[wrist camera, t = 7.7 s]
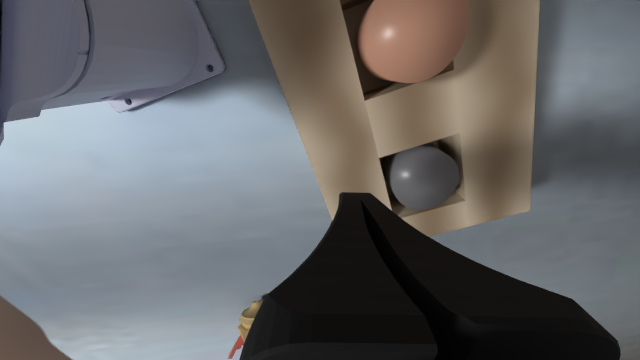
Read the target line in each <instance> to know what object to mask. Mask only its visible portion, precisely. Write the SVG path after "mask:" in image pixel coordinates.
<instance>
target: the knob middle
mask: <svg viewBox="0 0 640 360" xmlns="http://www.w3.org/2000/svg"><path fill="white" fill-rule="evenodd" d="M468 25H469V2H468V0H374V1H373V2H372V3H371V5H370V6H369V7H368V9H367V10H366V12H365V13H364V15H363V17H362V18H361V21H360V23H359V26H358V30H357V36H356V47H357V53H358V56H359V59H360V61H361V63H362V65H363V66H364V68H365V69H366V70H367V71H368V72H369V73H370V74H372V75H373V76H375V77H377V78H379V79H382V80H389V81H395V82H402V83H417V82H421V81H425V80H427V79H430V78H432V77H433V76H435V75H437V74H438V73H440V72H441V71H442V70H443V69H445V68H446V67H447V66H448V65H449V64H450V63H451V61H452V60H453V59H454V58H455V56H456V55H457V53H458V52H459V50H460V48H461V46H462V44H463V42H464V39H465V36H466V33H467V29H468Z"/></svg>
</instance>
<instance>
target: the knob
mask: <svg viewBox="0 0 640 360" xmlns="http://www.w3.org/2000/svg"><path fill="white" fill-rule="evenodd" d="M381 169H382V173H383V176H384V178H385V180H386V181H387V183H388V185H389V186H390V188H391V190H392V191H393V193H394V195H395V196H396V198H397V199H398V201H399V202H400V203H401V204H403V205H404V206H406V207H408V208H411V209H417V210H423V209H429V208H433V207H435V206H438V205H439V204H441V203H443V202H444V201H446V200H447V199H448V198H449V197H450V196H451V195H452V193H453V192H454V191H455V189H456V187H457V184H458V181H459V169H458V166H457V164H456V162H455V161H454V160H453V159H452V158H451V157H450V156H449V155H447V154H446V153H444V152H443V151H441V150H440V149H438V148H437V147H435V146H434V145H432V144H431V143H426V144H423V145H419V146H416V147H413V148H410V149H407V150H403V151H400V152H397V153H394V154H391V155H387V156H384V157H383V158H382V162H381Z"/></svg>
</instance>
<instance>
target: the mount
mask: <svg viewBox="0 0 640 360" xmlns="http://www.w3.org/2000/svg"><path fill="white" fill-rule="evenodd" d="M373 1H374V0H248V2H249V4H250V7H251V9H252V12H253V15H254V17H255V20H256V22H257V25H258V28H259V30H260V33H261V36H262V38H263V41H264V43H265V46H266V49H267V51H268V54H269V56H270V59H271V62H272V64H273V67H274V69H275V72H276V75H277V77H278V80H279V82H280V85H281V88H282V90H283V93H284V95H285V98H286V101H287V103H288V106H289V109H290V111H291V114H292V116H293V119H294V122H295V124H296V127H297V129H298V132H299V135H300V137H301V140H302V142H303V145H304V148H305V150H306V153H307V155H308V158H309V161H310V163H311V166H312V168H313V171H314V174H315V176H316V179H317V182H318V184H319V187H320V189H321V192H322V195H323V197H324V200H325V202H326V205H327V208H328V210H329V213H330V215H331V218H332V221H333V219H334V217H335V214H336V211H337V209H338V204H339V194H340V193H342V192H357V193H371V194H372V195H374V196H375V197H376V198H377V199H378V200H380V201H381V202H382V203H383V204H384V205H385V206H387V207H388V208H389V209H390V210H391V211H393V212H394V213H395V214H396V215H398V216H399V217H400V218H402V219H403V220H404V221H406V222H407V223H408V224H410V225H411V226H413V227H414V228H416V229H417V230H418V231H420V232H421V233H423V234H425V235H426V236H428V237H429V236H433V235H437V234H441V233H445V232H449V231H453V230H457V229H461V228H464V227H468V226H472V225H476V224H480V223H484V222H488V221H492V220H496V219H500V218H503V217H507V216H511V215H515V214H519V213H523V212H527V211H530V199H531V177H532V156H533V135H534V114H535V92H536V71H537V50H538V29H539V8H540V0H468V2H469V25H468V29H467V33H466V36H465V39H464V42H463V44H462V46H461V48H460V50H459V52H458V53H457V55H456V56H455V58H454V59H453V60H452V61H451V63H450V64H449V65H448V66H447V67H446V68H445V69H443V70H442V71H441V72H440V73H438V74H437V75H435V76H433V77H432V78H430V79H427V80H425V81H421V82H417V83H402V82H395V81H389V80H382V79H379V78H377V77H375V76H373V75H372V74H370V73H369V72H368V71H367V70H366V69H365V68H364V66H363V65H362V63H361V61H360V59H359V56H358V53H357V47H356V36H357V30H358V26H359V23H360V21H361V18H362V17H363V15H364V13H365V12H366V10H367V9H368V7H369V6H370V5H371V3H372V2H373ZM426 143H431V144H432V145H434V146H435V147H437V148H438V149H440V150H441V151H443V152H444V153H446V154H447V155H449V156H450V157H451V158H452V159H453V160H454V161H455V162H456V164H457V166H458V169H459V181H458V184H457V187H456V189H455V191H454V192H453V193H452V195H451V196H450V197H449V198H448V199H447V200H446V201H444V202H443V203H441V204H439V205H438V206H435V207H433V208H429V209H423V210H417V209H411V208H408V207H406V206H404V205H403V204H401V203H400V202H399V201H398V199H397V198H396V196H395V195H394V193H393V191H392V190H391V188H390V186H389V185H388V183H387V181H386V180H385V178H384V176H383V173H382V169H381V162H382V158H383V157H384V156H387V155H391V154H394V153H397V152H400V151H403V150H407V149H410V148H413V147H416V146H419V145H423V144H426Z"/></svg>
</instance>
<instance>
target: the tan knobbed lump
mask: <svg viewBox="0 0 640 360" xmlns="http://www.w3.org/2000/svg"><path fill="white" fill-rule="evenodd" d="M262 302H263V300H259V301H258V302H256V301H254V302H252V304H251V307H250V308H248V309H246V310H244V311H243V312H242V316H241V318H240V322H241V323H242V324H241V325H240V326H239V327H238V328H237V329H238V331H239V333H240V337H239V338H238V340H237V342H236V343H235V345H234V347H233V348H232V350H231V352H230V353H229V357H228V359H230V358H232V357H233V355H234V353H235V351H236V349H240V348H241V346H242V345H243V346H244V343H245V340H246V337H247V335H248V332H249V330H250V327H251V325H252V322H253V320H254V318H255V316H256V314H257V312H258V310H259V308H260V306H261V304H262Z"/></svg>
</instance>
